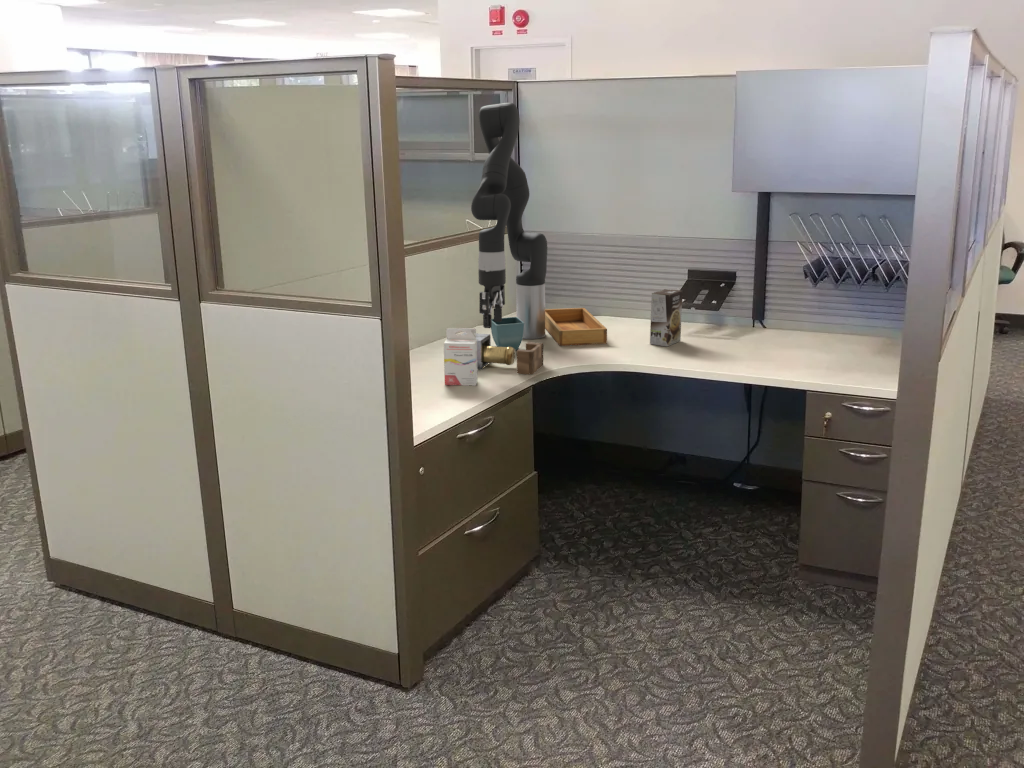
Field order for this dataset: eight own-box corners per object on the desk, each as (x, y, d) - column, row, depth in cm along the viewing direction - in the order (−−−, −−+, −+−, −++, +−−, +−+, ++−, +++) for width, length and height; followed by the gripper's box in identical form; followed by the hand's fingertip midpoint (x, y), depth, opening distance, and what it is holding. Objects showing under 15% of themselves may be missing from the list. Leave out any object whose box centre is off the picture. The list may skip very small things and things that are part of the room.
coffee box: (667, 347, 280) (669, 295, 275) (649, 344, 284) (650, 292, 279) (681, 341, 287) (683, 290, 282) (663, 338, 291) (664, 288, 286)
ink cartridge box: (444, 385, 243) (442, 331, 239) (446, 380, 248) (444, 327, 244) (476, 385, 243) (474, 331, 239) (478, 380, 248) (476, 327, 243)
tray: (606, 345, 285) (607, 327, 283) (559, 347, 283) (559, 329, 281) (584, 323, 314) (584, 307, 313) (541, 325, 312) (541, 309, 310)
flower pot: (496, 353, 275) (496, 324, 272) (489, 347, 283) (489, 318, 280) (524, 351, 277) (524, 322, 275) (517, 344, 285) (516, 316, 283)
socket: (528, 364, 263) (528, 342, 261) (543, 365, 262) (543, 343, 260) (516, 373, 254) (516, 350, 252) (532, 374, 252) (532, 352, 250)
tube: (456, 363, 262) (456, 345, 260) (463, 358, 266) (462, 341, 265) (509, 367, 257) (509, 349, 255) (515, 362, 261) (515, 345, 260)
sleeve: (465, 360, 268) (464, 332, 265) (490, 362, 265) (490, 334, 263) (455, 367, 261) (454, 338, 258) (481, 369, 258) (480, 340, 256)
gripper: (488, 263, 261) (489, 318, 265) (469, 270, 248) (471, 329, 252) (513, 264, 258) (513, 320, 263) (495, 271, 245) (496, 330, 250)
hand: (492, 324), depth 257 cm, fingers open, 8 cm apart
